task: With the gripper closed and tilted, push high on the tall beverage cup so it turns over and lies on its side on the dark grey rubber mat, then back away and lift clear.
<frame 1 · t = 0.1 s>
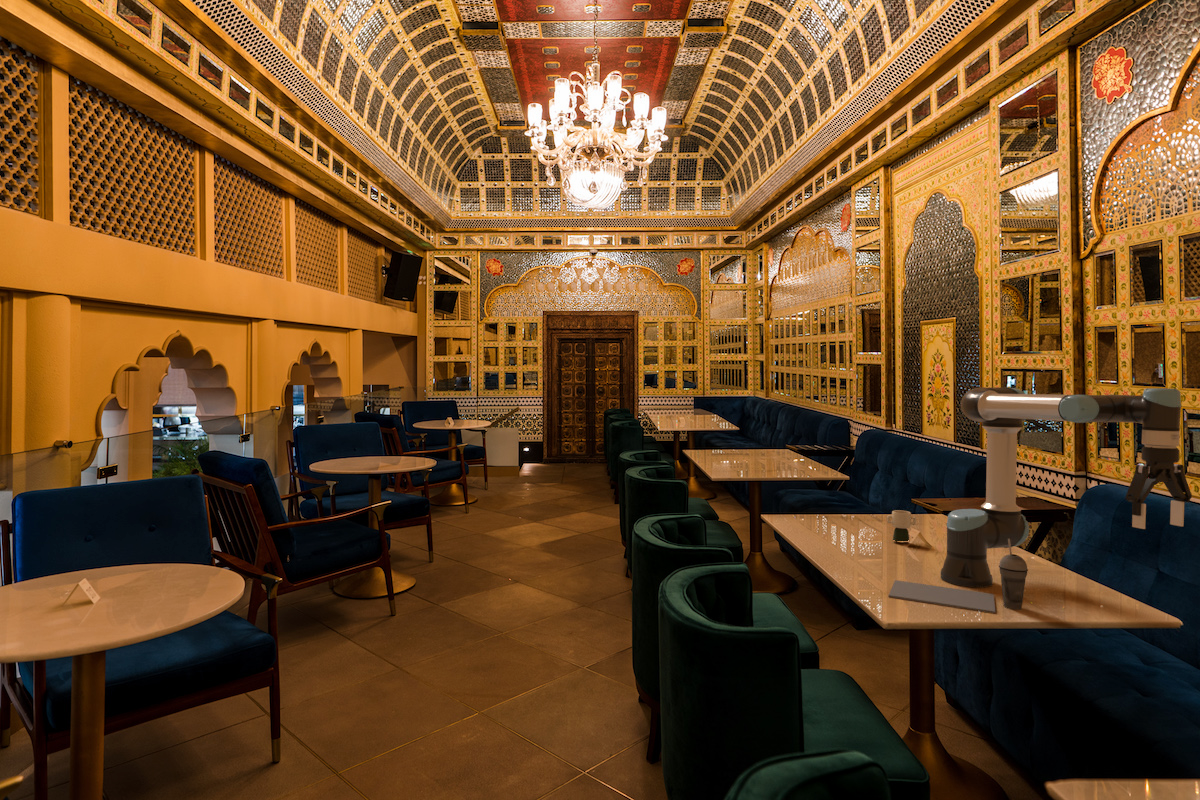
hand: (1157, 526, 170), 28 cm above the table, tool pointing down, fingers open, 13 cm apart
beverage cup: (1012, 607, 189), on the table
character mug: (901, 543, 267), on the table
rubber mat: (941, 596, 198), on the table
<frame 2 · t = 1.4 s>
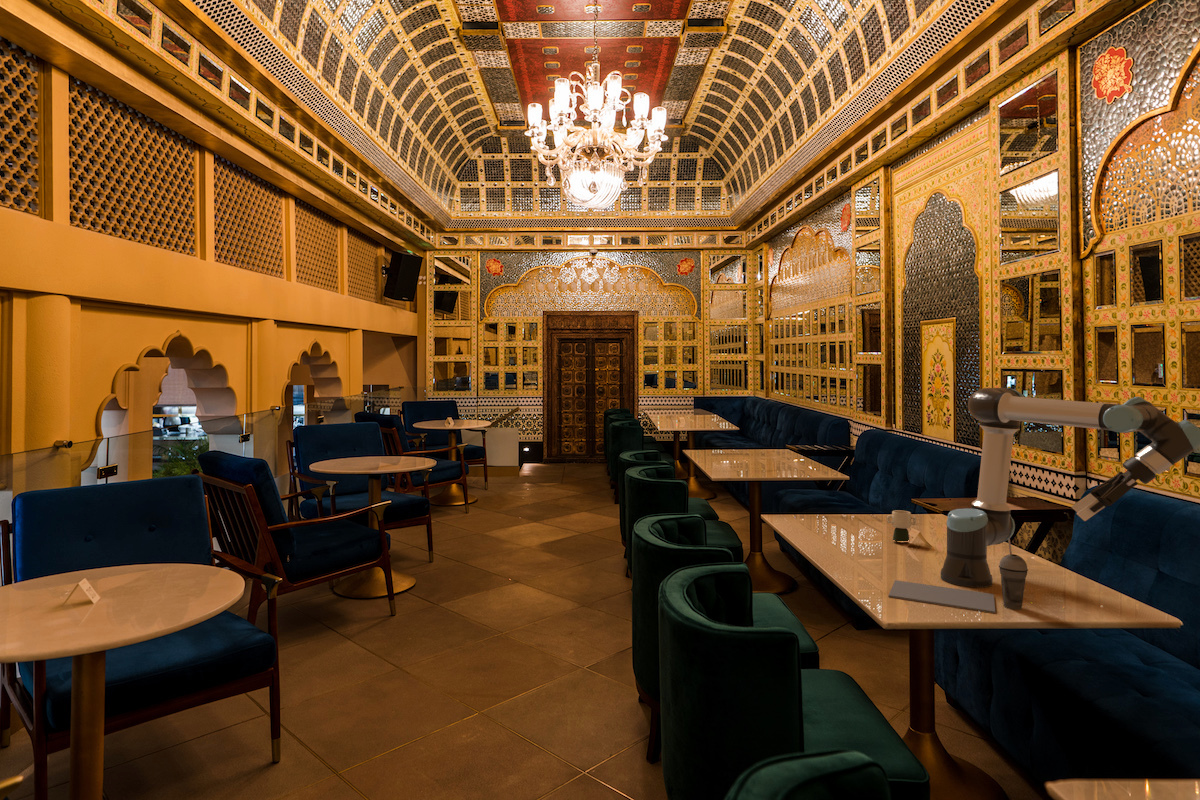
hand: (1077, 513, 190), 27 cm above the table, tool tilted 45°, fingers open, 12 cm apart
nothing on the table moved.
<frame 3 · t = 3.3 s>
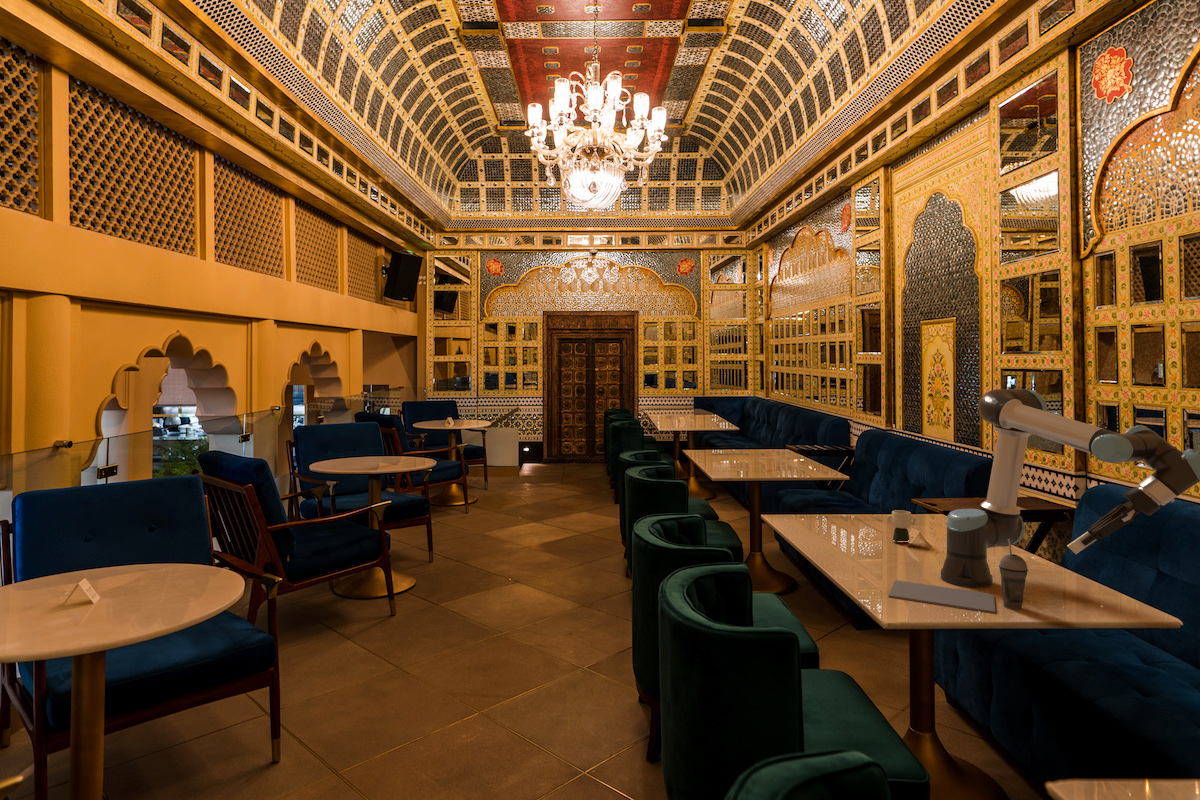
hand: (1071, 549, 181), 19 cm above the table, tool tilted 45°, fingers closed
nothing on the table moved.
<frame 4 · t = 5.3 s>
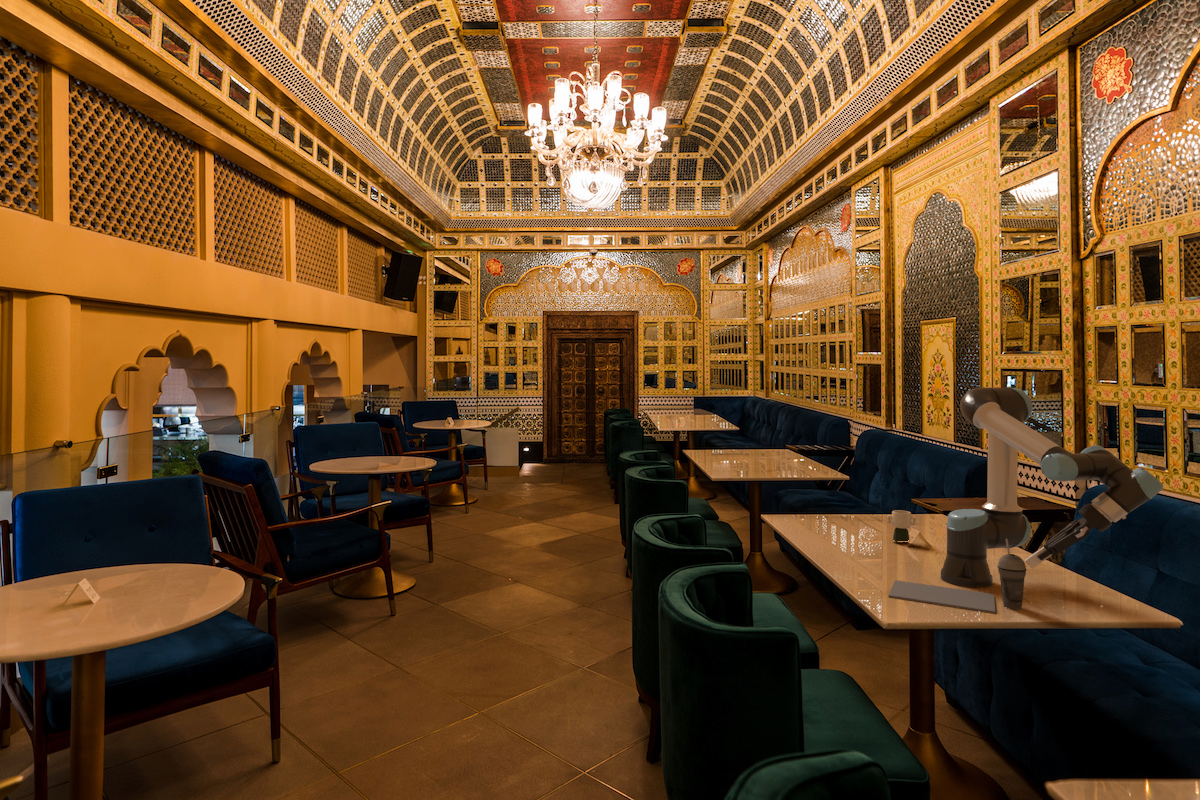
hand: (1028, 564, 186), 13 cm above the table, tool tilted 45°, fingers closed
beverage cup: (1012, 607, 189), on the table, touching gripper
everything else where it was.
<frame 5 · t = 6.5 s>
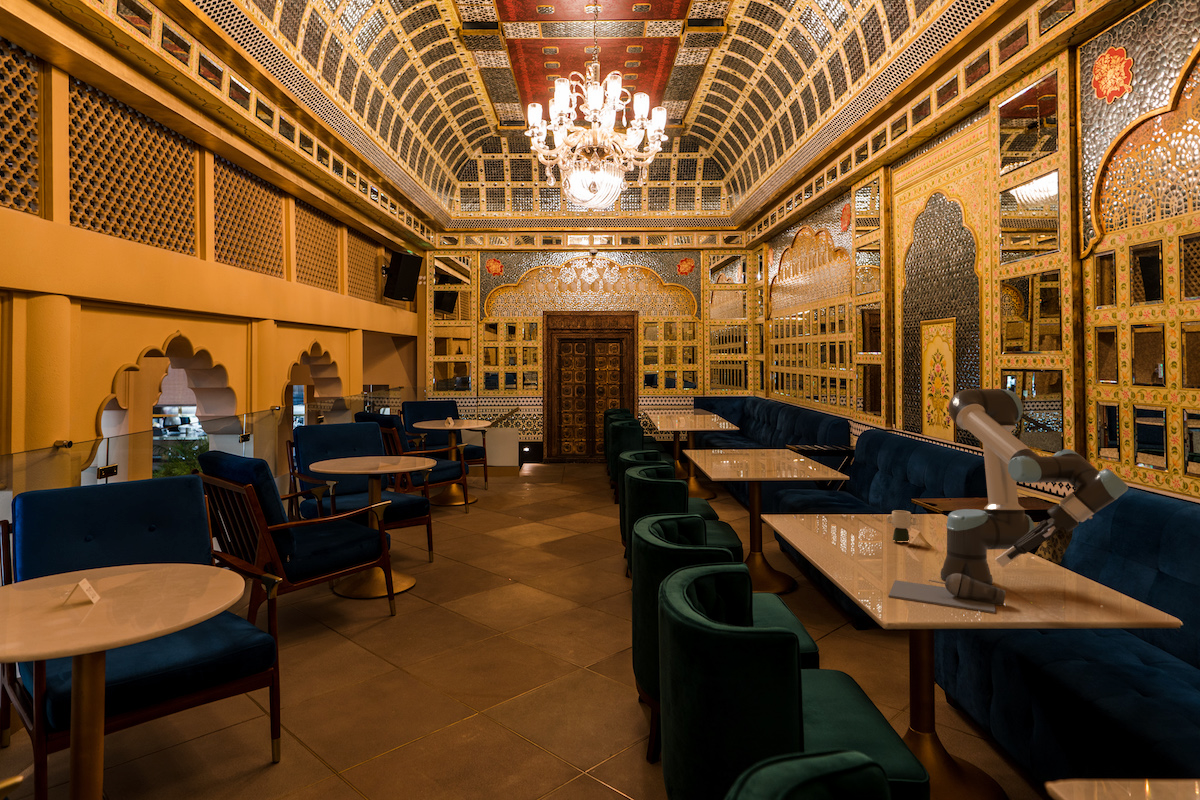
hand: (998, 563, 191), 13 cm above the table, tool tilted 45°, fingers closed
beverage cup: (1004, 598, 190), point 2 cm above the table, touching rubber mat
everything else where it was.
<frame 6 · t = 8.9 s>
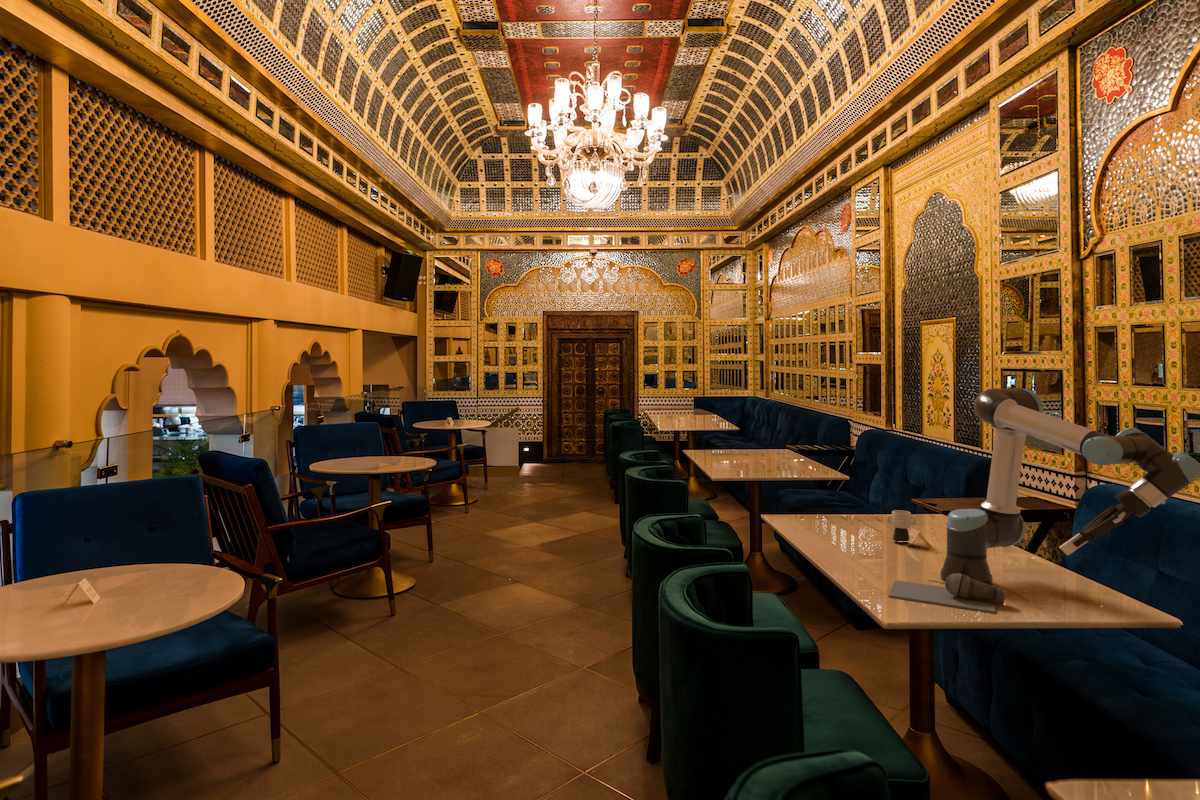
hand: (1063, 551, 183), 18 cm above the table, tool tilted 45°, fingers closed
nothing on the table moved.
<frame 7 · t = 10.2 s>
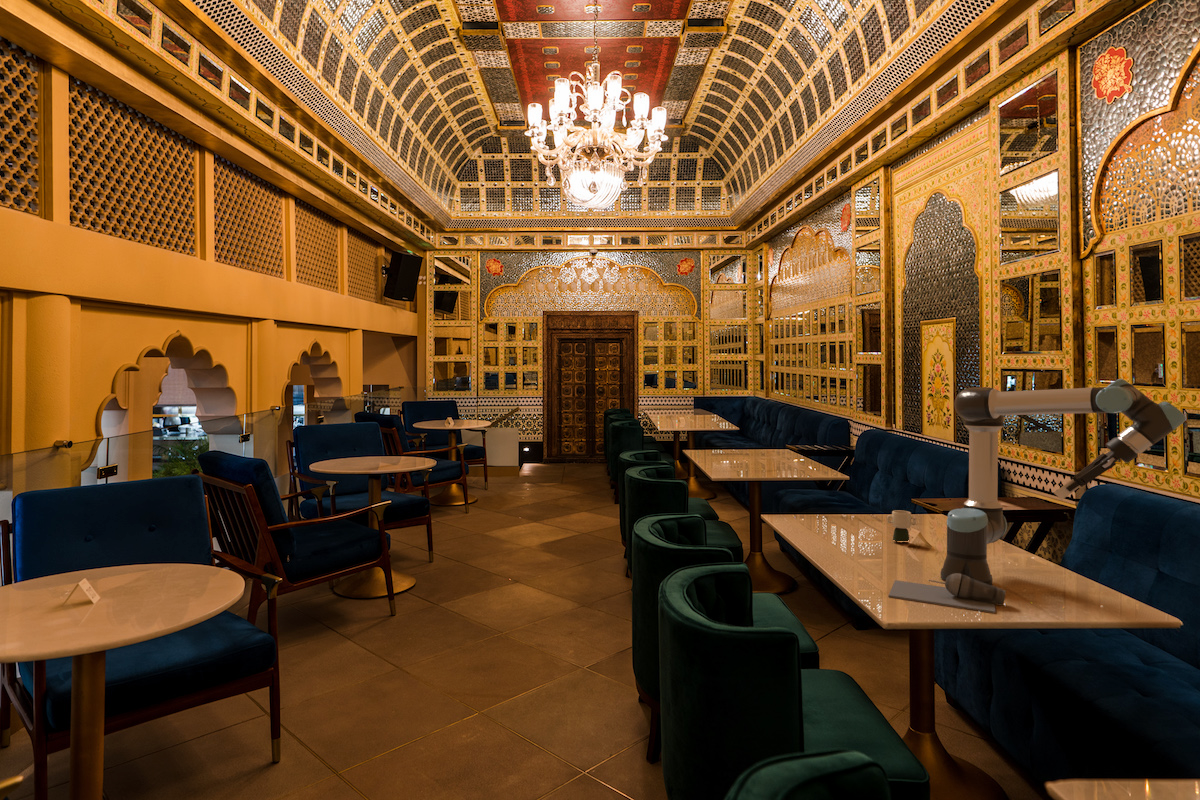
hand: (1057, 496, 199), 31 cm above the table, tool tilted 45°, fingers closed
nothing on the table moved.
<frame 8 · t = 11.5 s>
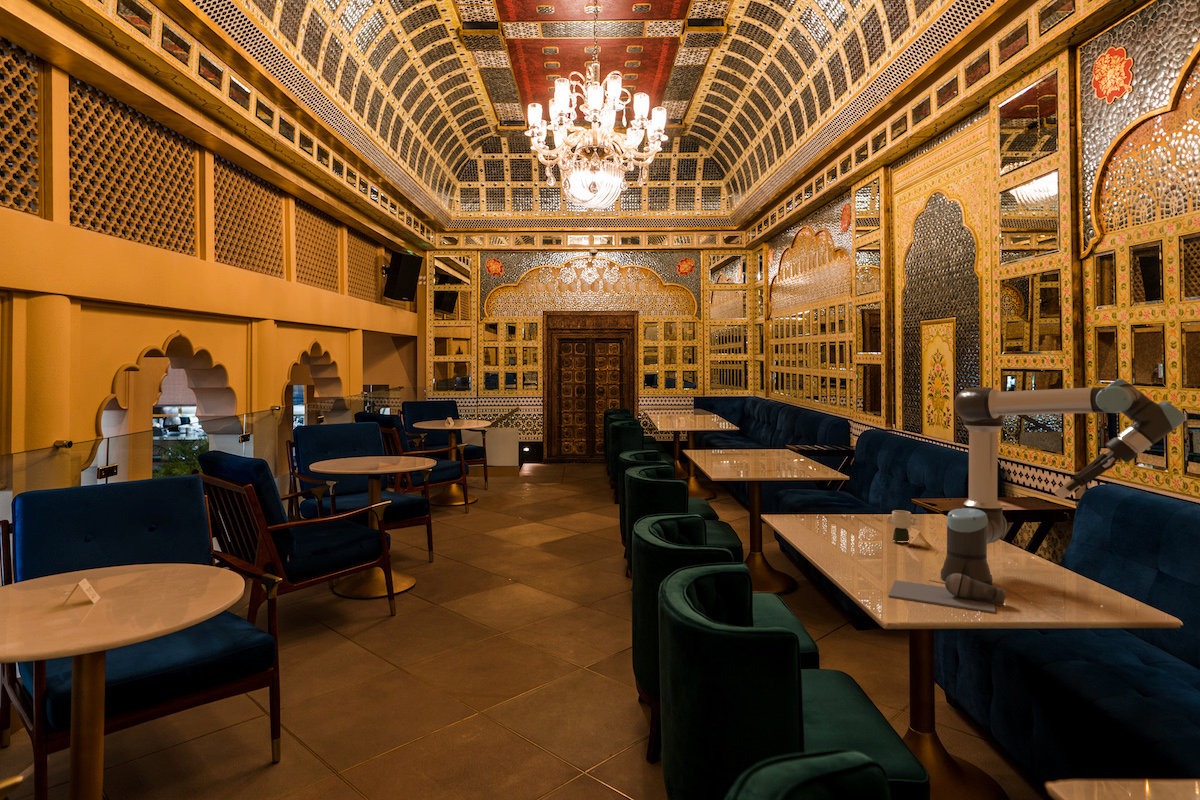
hand: (1057, 496, 199), 31 cm above the table, tool tilted 45°, fingers closed
nothing on the table moved.
at the end: beverage cup tilted 81°; beverage cup touching rubber mat; the gripper is holding nothing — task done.
